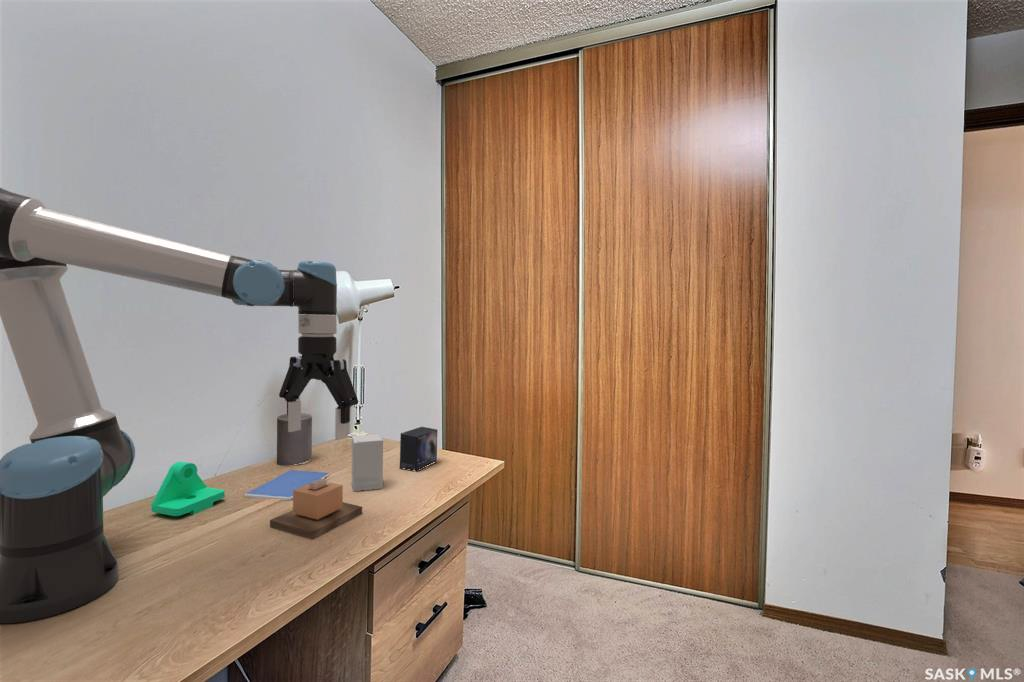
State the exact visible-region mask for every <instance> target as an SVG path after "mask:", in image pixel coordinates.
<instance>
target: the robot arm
mask: <svg viewBox="0 0 1024 682" xmlns="http://www.w3.org/2000/svg"><path fill="white" fill-rule="evenodd" d="M68 265H70V266H75V267H79V268H85V269H89V270H94V271H98V272H104V273H108V274H113V275H115V276H116V275H117V276H121V277H126V278H130V279H136V280H140V281H144V282H148V283H149V282H150V283H155V284H159V285H164V286H169V287H173V288H178V289H182V290H183V289H184V290H186V291H187V290H188V291H192V292H198V293H203V294H206V295H211V296H216V297H220V298H226V299H228V300H232V302H233V304H235V305H237V306H247V307H291V308H292V307H297V310H298V313H297V314H298V318H297V319H298V326H297V327H298V329H297V330H298V334H300V335H301V336H299V337H298V338H297V340H298V341H297V352H298V354H300V356H290V358H289V365H288V369H287V372H286V375H285V377H284V380H283V382H282V385H281V389H280V391H279V393H278V396H279V398H281V399H284V401H285V402H286V414H287V415H288V432H294V431H297V430H301V413H302V403H301V402H302V400H301V398H300V397H301V395H302V394H303V391H304V390H305V388H306V387H307V386H308V384H309V383H310V381H311V380H316V381H321V382H322V383H323V384H325V386H326V387H327V389H328V391H329V393H330V394H331V396H332V397H333V399H334V401H335V402H336V404H337V407H336V408H335V418H334V419H335V420H334V421H335V422H334V423H335V424H334V426H335V427H334V428H335V429H334V431H335V432H334V433H335V434H334V435H335V437H334V439H335V440H336V441H341V440H343V439H346V438H349V437H348V436H349V435H348V434H349V433H348V432H349V430H348V429H349V428H348V426H349V423H350V421H351V407H352V406H355V405H358V403H359V399H358V396H357V394H356V391H355V388H354V385H353V383H352V379H351V377H350V375H349V372H348V366H347V365H348V364H347V360H346V359H335V358H334V357H335V354H336V353H337V337H336V336H334V335H335V334H337V330H338V329H337V302H338V301H337V300H338V299H337V296H338V295H337V294H338V284H337V283H338V282H337V269H336V266H335V265H334V264H333V263H331V262H326V261H321V260H320V261H318V260H302V261H299V262H298V267H297V268H296V269H293V270H292V269H291V270H290V269H287V270H286V269H279V268H278V267H277V266H275V265H274V264H273V263H270V262H268V261H264V260H260V259H257V260H255V259H249V258H244V257H242V256H241V257H240V256H236V255H233V254H229V253H226V252H221V251H217V250H215V249H214V250H213V249H210V248H206V247H202V246H197V245H193V244H189V243H185V242H181V241H177V240H174V239H170V238H165V237H162V236H161V237H160V236H158V235H154V234H149V233H145V232H141V231H137V230H134V229H129V228H125V227H121V226H118V225H114V224H109V223H106V222H101V221H97V220H93V219H90V218H86V217H82V216H77V215H74V214H70V213H65V212H62V211H58V210H54V209H49V208H47V207H46V205H45V204H44V203H43V202H42V201H41V200H40V199H37V198H33V197H30V196H26V195H22V194H19V193H15V192H12V191H9V190H7V189H4V188H3V187H0V320H1V323H2V324H3V328H4V331H5V333H6V336H7V339H8V342H9V344H10V349H11V350H12V354H13V357H14V359H15V362H16V365H17V367H18V371H19V374H20V376H21V379H22V383H23V385H24V388H25V391H26V394H27V396H28V400H29V402H30V405H31V408H32V411H33V413H34V416H35V419H36V422H37V426H36V427H35V429H34V430H33V431H32V432H31V434H30V435H29V441H30V442H31V443H25V444H23V445H20V446H18V447H14V448H13V449H11V450H9V451H8V452H6V453H5V454H4V455H3V456H2V457H1V458H0V624H8V623H7V622H10V623H9V624H14V623H15V624H16V623H17V622H18V623H24V622H31V621H37V620H40V619H45V618H48V617H52V616H56V615H59V614H62V613H64V612H65V613H66V612H67V611H70V610H74V609H75V608H78V607H80V606H83V605H85V604H88V603H89V602H92V601H93V600H95V599H97V598H99V597H101V596H102V595H103V594H105V593H107V592H108V591H109V590H110V589H111V588H112V587H113V586H115V584H116V583H117V582H118V580H119V563H118V560H117V558H116V556H115V553H114V551H113V549H112V548H111V546H110V543H109V541H108V540H107V537H106V535H105V533H104V498H105V496H106V495H107V494H108V493H109V492H110V491H111V490H112V489H113V488H115V487H116V486H117V485H118V484H120V483H121V482H122V480H124V479H125V478H126V476H127V475H128V473H129V471H131V469H132V466H133V464H134V461H135V458H136V448H135V444H134V441H133V440H132V438H131V437H130V435H129V434H128V433H127V432H126V431H124V430H122V429H121V428H120V424H119V422H118V419H117V416H116V413H114V412H112V411H110V410H107V409H104V408H103V407H102V404H101V401H100V399H99V396H98V392H97V388H96V385H95V383H94V380H93V377H92V374H91V371H90V368H89V365H88V363H87V359H86V355H85V353H84V352H85V351H84V350H83V347H82V344H81V341H80V337H79V335H78V332H77V329H76V324H75V322H74V319H73V317H72V313H71V309H70V307H69V304H68V301H67V299H66V295H65V292H64V288H63V286H62V282H61V279H62V277H63V276H64V275H65V274H66V272H67V271H68Z"/></svg>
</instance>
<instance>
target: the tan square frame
mask: <svg viewBox="0 0 1024 682" xmlns="http://www.w3.org/2000/svg"><path fill="white" fill-rule="evenodd" d="M343 489H344V488H343V484H338V483H336V482H335V483H334V482H330V481H326V487H325V488H322V489H320V490H318V491H311V490H309V484H307V485H305V486H302V487H300V488H297V489H295V490H293V499H292V510H293V513H294V514H298V515H302V516H306V517H309V518H313V519H317V520H318V519H320V518H322V517H324V516H326V515H328V514H330V513H332V512H334V511H336V510H339V509H341V508H343V502H344V501H343V496H344V495H343Z"/></svg>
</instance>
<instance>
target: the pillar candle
mask: <svg viewBox="0 0 1024 682" xmlns="http://www.w3.org/2000/svg"><path fill="white" fill-rule="evenodd" d="M312 447H313V415H312V413H311V414H310V413H303V412H301V430H297V431H294V432H288V415H287V413H285V414H281V415H278V416H277V418H276V464H277V465H279V466H282V465H294V464H299V463H303V462H306V461H309V460H310V459H311V458H313V457H312V456H313V448H312ZM311 460H312V459H311Z"/></svg>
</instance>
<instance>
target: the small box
mask: <svg viewBox="0 0 1024 682" xmlns="http://www.w3.org/2000/svg"><path fill="white" fill-rule="evenodd" d="M399 443H400V444H399V446H400V448H399V450H400V451H399V469H401V468H405V469H404V470H406V469H410V470H415V471H416V472H418V471H417V470H419V469H421V468H423V467H425V466H427V465H429V464H431V463H433V462H436V461H437V462H438V460H437V459H438V458H437V457H438V429H436V428H431V427H425V426H419V427H416V428H414V429H410V430H407V431H403V432H401V433H400V441H399ZM425 468H426V467H425ZM423 469H424V468H423ZM410 470H409V471H410ZM421 470H422V469H421ZM415 471H414V472H415ZM419 471H420V470H419Z"/></svg>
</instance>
